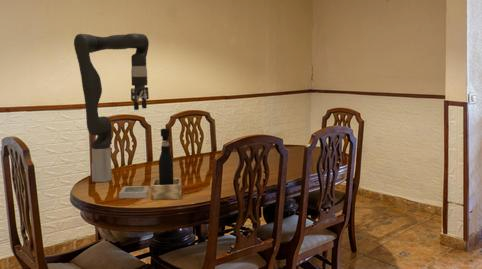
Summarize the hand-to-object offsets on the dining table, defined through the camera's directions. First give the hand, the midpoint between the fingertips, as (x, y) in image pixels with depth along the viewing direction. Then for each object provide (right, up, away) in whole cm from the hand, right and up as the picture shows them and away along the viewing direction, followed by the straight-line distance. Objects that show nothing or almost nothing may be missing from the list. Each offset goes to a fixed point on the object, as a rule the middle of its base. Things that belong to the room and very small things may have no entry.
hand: (140, 109), depth 231 cm
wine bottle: (+15, -40, -14) cm, 45 cm away
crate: (+15, -41, -14) cm, 45 cm away
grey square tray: (0, -40, -12) cm, 42 cm away
